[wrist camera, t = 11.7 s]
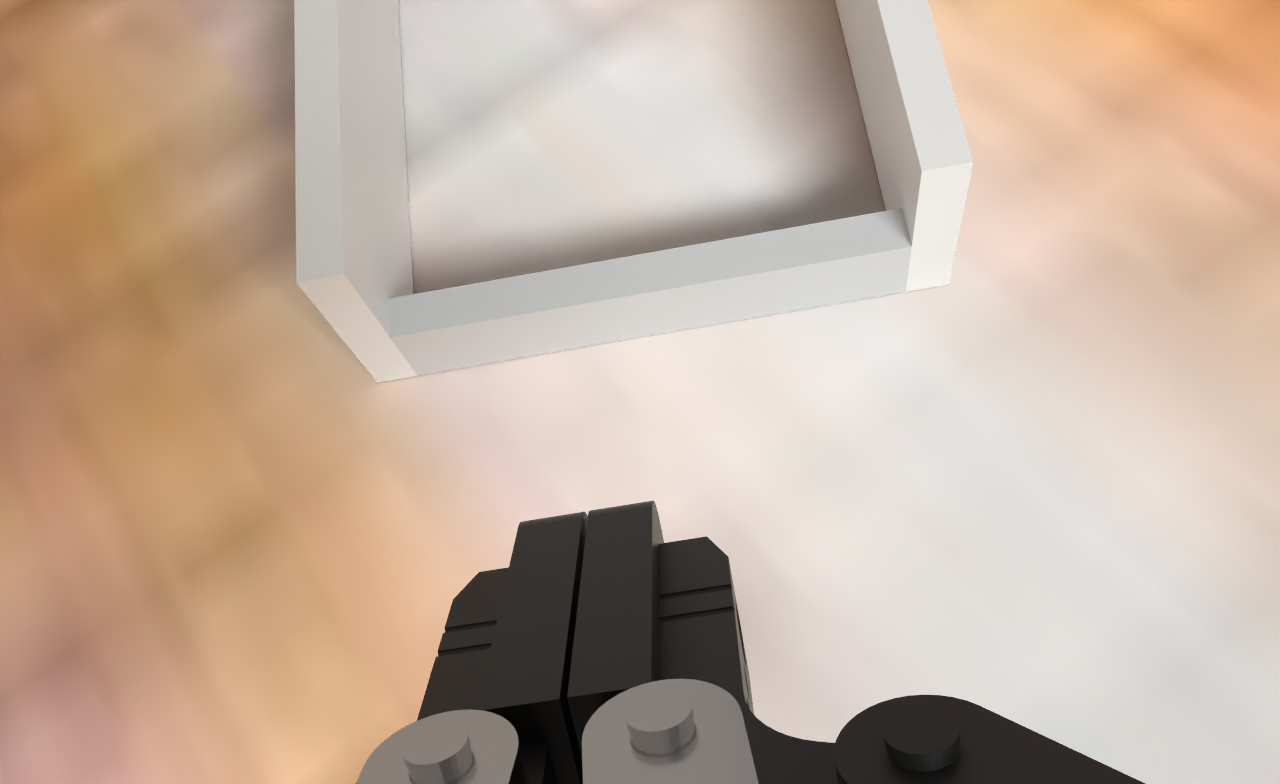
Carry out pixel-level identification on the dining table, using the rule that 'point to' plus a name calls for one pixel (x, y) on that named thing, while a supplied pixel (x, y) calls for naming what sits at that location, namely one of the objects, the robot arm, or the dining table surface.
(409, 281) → the grey open-fronted box
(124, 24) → the dining table surface
